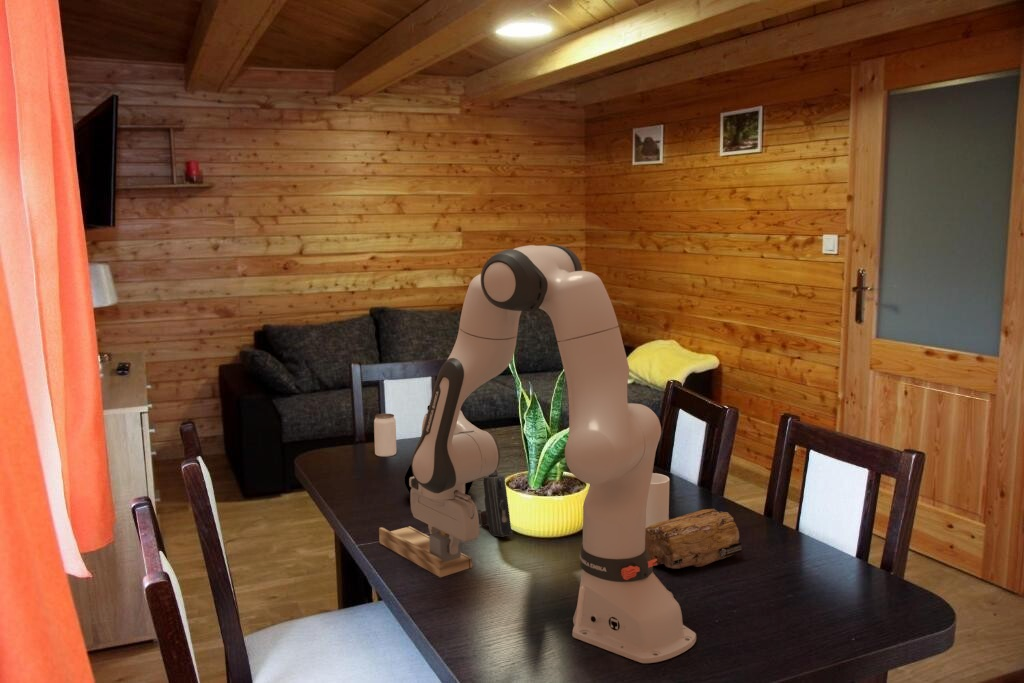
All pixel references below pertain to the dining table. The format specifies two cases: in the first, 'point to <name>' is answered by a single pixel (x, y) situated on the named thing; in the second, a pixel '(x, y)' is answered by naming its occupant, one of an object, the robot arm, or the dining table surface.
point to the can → (385, 435)
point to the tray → (421, 551)
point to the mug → (658, 500)
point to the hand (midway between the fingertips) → (445, 549)
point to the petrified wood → (693, 539)
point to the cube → (442, 546)
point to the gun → (495, 506)
